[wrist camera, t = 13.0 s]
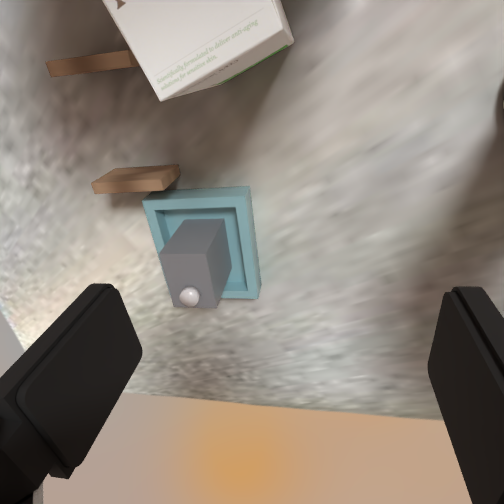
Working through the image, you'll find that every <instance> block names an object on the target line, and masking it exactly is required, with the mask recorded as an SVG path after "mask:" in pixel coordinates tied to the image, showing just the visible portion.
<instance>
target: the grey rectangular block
mask: <svg viewBox="0 0 504 504" xmlns="http://www.w3.org/2000/svg"><path fill="white" fill-rule="evenodd" d="M159 257H160V261H161V264H162V268H163V271H164V274H165V278H166V281H167V285H168V288H169V292H170V295H171V298H172V302H173V305H174V307H193V308H217V306H218V304H219V301H220V298H221V296H222V293H223V290H224V288H225V285H226V282H227V280H228V277H229V274H230V272H231V269H232V263H231V257H230V251H229V245H228V238H227V232H226V226H225V220H224V218H220V219H185V220H184V221H183V222H182V224H181V225H180V226H179V227H178V229H177V230H176V231H175V233H174V234H173V235H172V237H171V238H170V239H169V241H168V242H167V243H166V245H165V246H164V247H163V249H162V250H161V251H160V253H159Z"/></svg>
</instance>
